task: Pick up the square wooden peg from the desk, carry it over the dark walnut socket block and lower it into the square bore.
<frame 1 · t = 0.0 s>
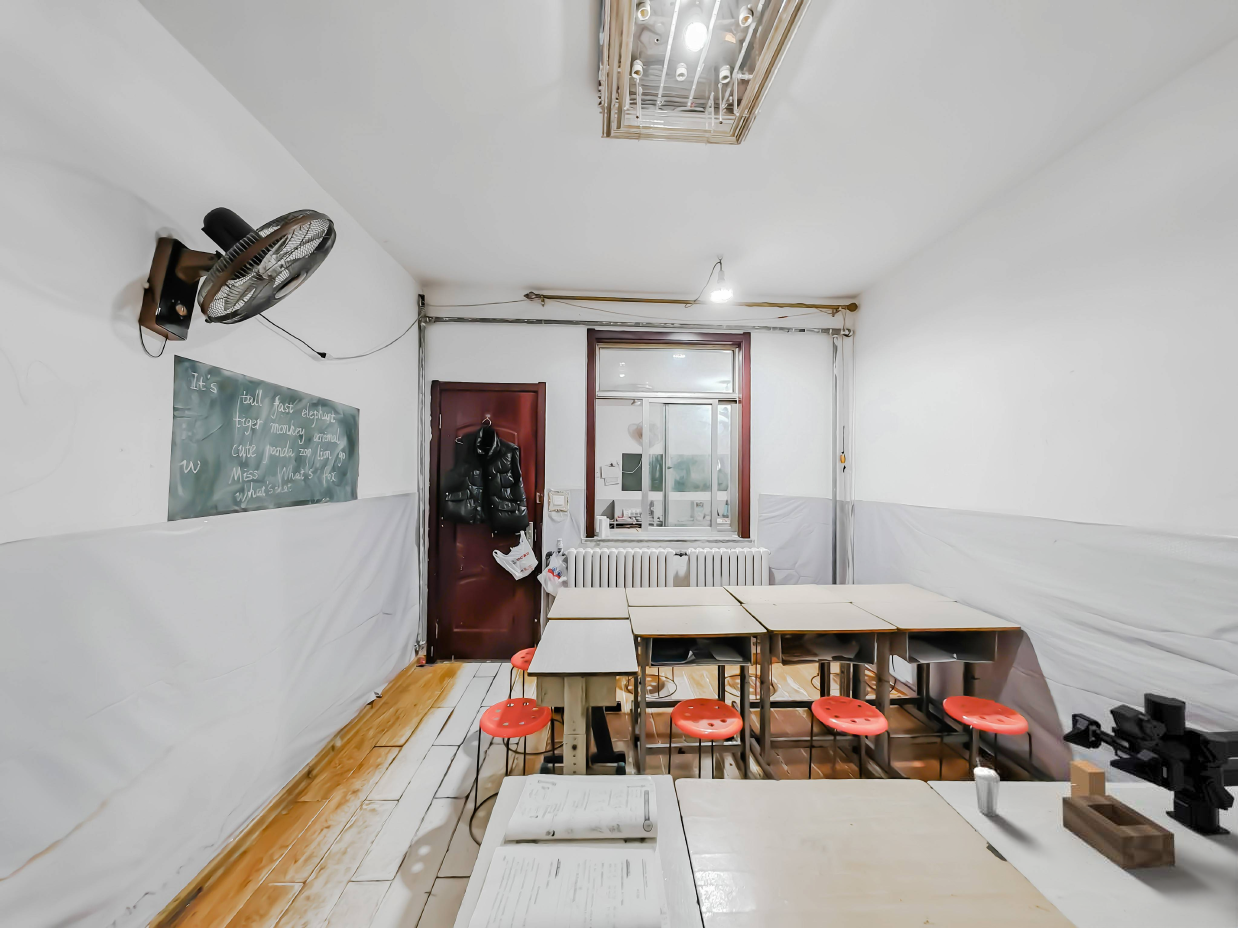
hand: (1086, 750, 98), 17 cm above the table, tool horizontal, fingers open, 9 cm apart
peg: (1088, 801, 106), on the table
milkshake: (986, 811, 103), on the table
socket: (1116, 844, 94), on the table
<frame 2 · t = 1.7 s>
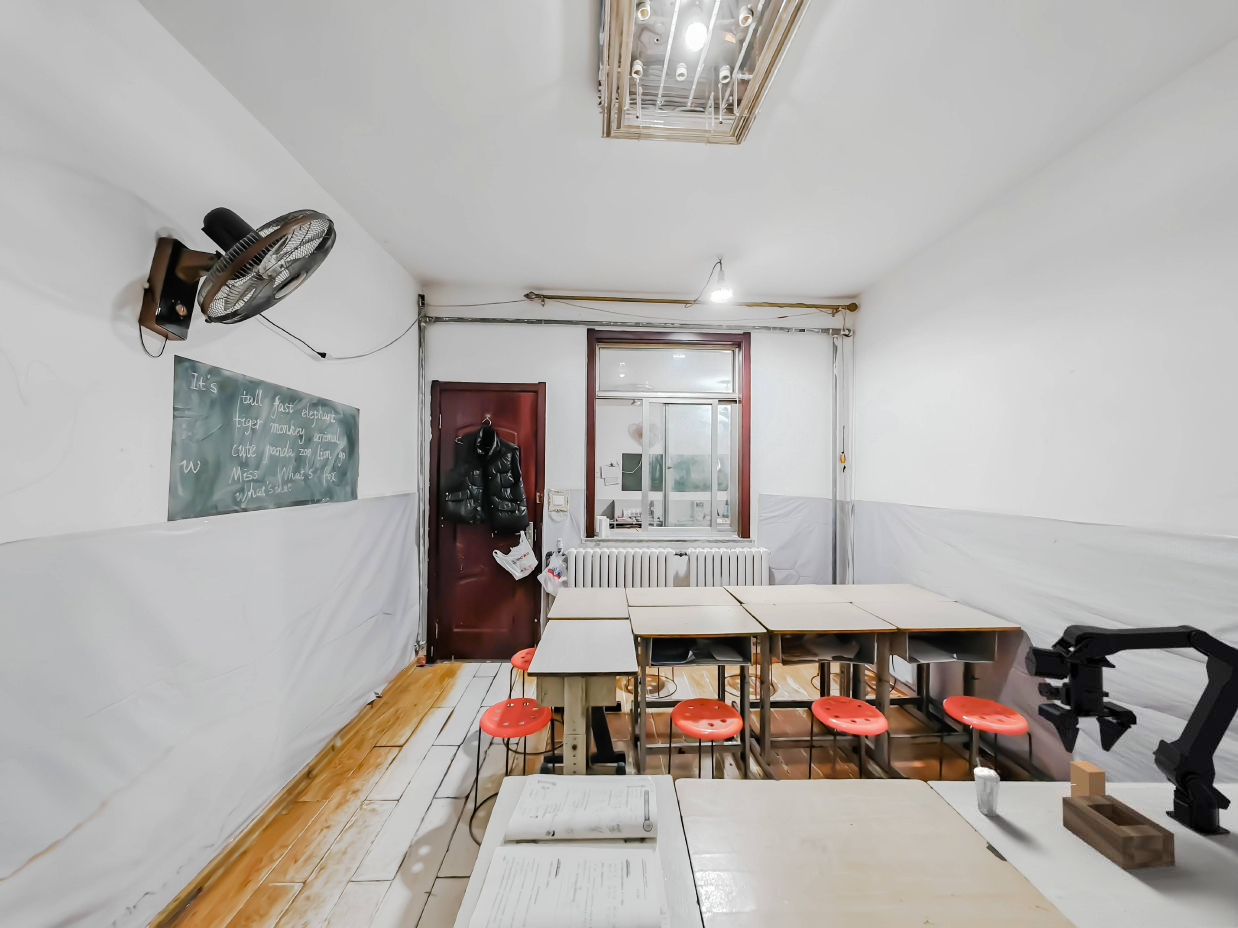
hand: (1087, 751, 107), 11 cm above the table, tool pointing down, fingers open, 9 cm apart
nothing on the table moved.
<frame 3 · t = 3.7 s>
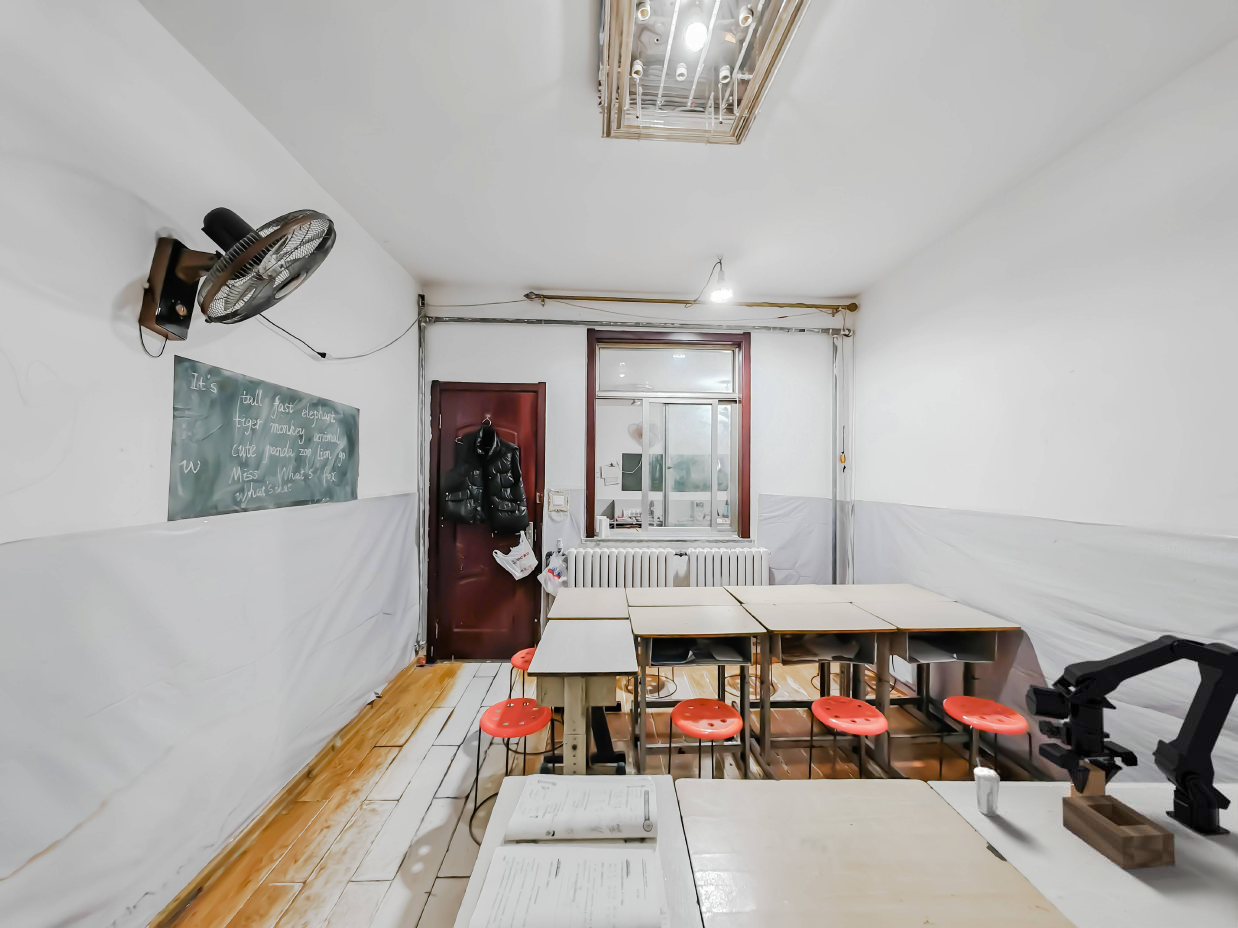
hand: (1088, 791, 106), 2 cm above the table, tool pointing down, fingers closed on peg, 4 cm apart
peg: (1088, 801, 106), on the table, touching gripper
everything else where it was.
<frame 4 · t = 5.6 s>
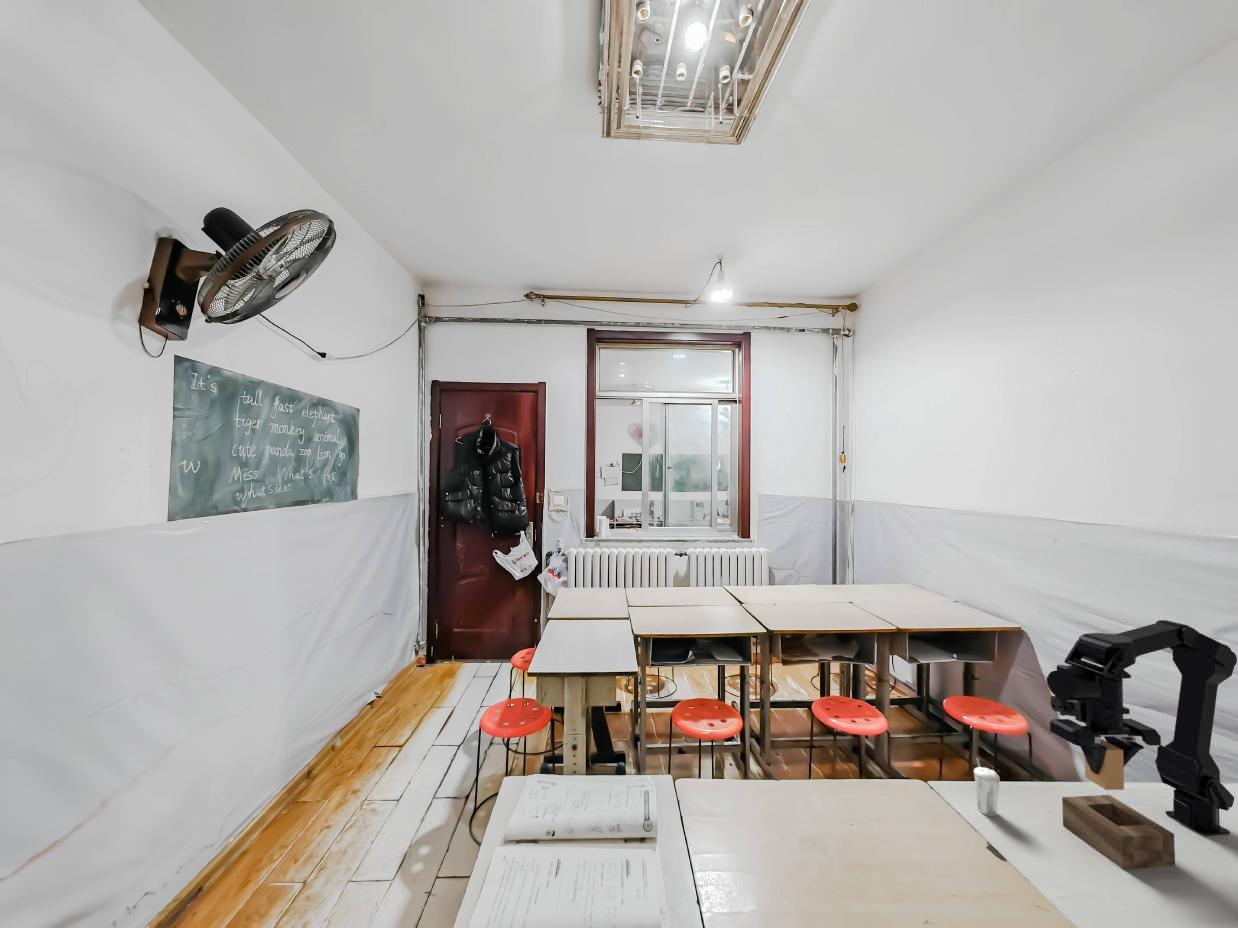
hand: (1104, 772, 97), 12 cm above the table, tool pointing down, fingers closed on peg, 4 cm apart
peg: (1104, 783, 98), point 10 cm above the table, touching gripper
everything else where it was.
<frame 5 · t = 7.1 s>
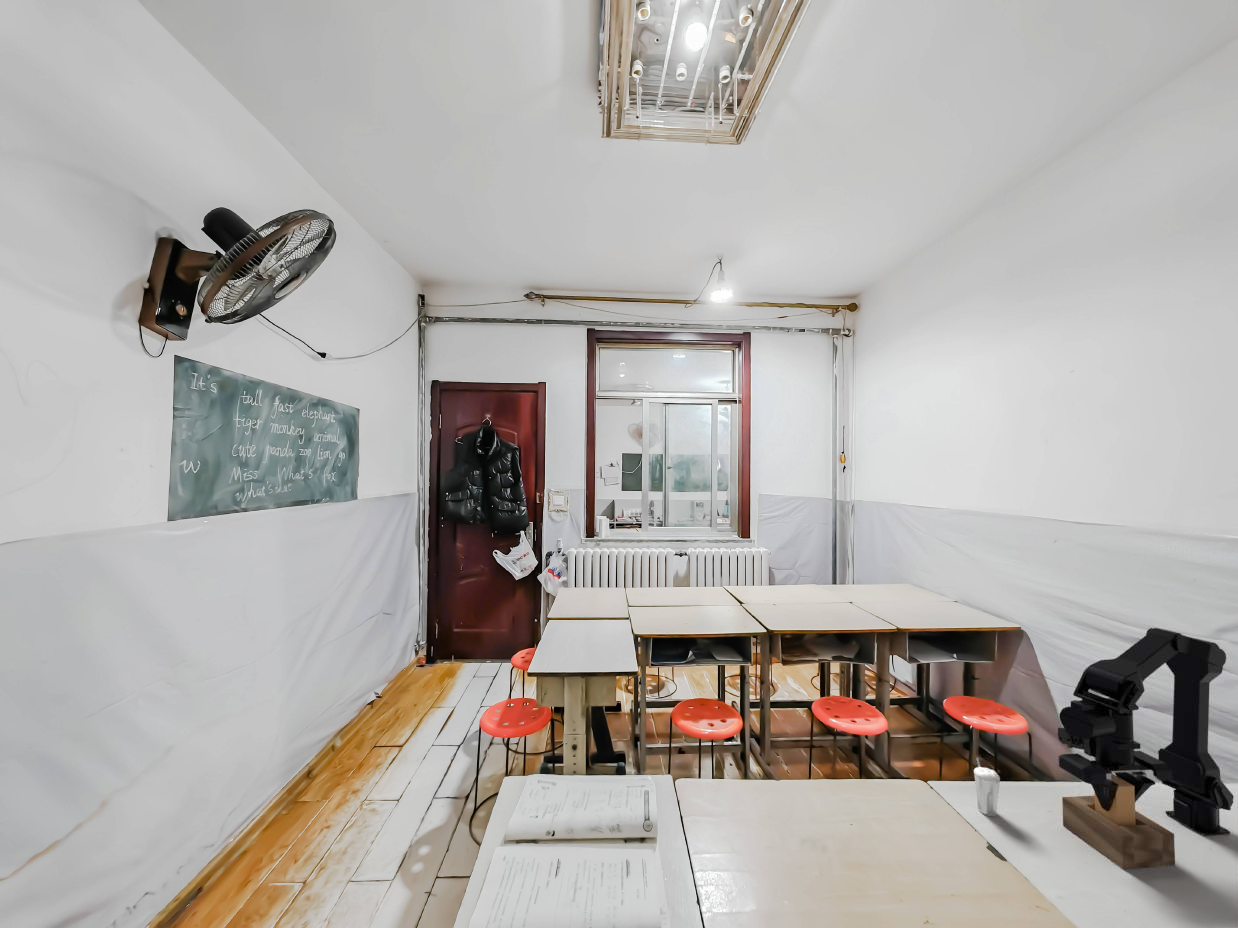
hand: (1115, 808, 94), 7 cm above the table, tool pointing down, fingers closed on peg, 4 cm apart
peg: (1115, 819, 94), point 5 cm above the table, touching gripper
everything else where it was.
when the fingers open (7 cm above the table, at t = 8.0 s): peg drops 4 cm, resting on socket.
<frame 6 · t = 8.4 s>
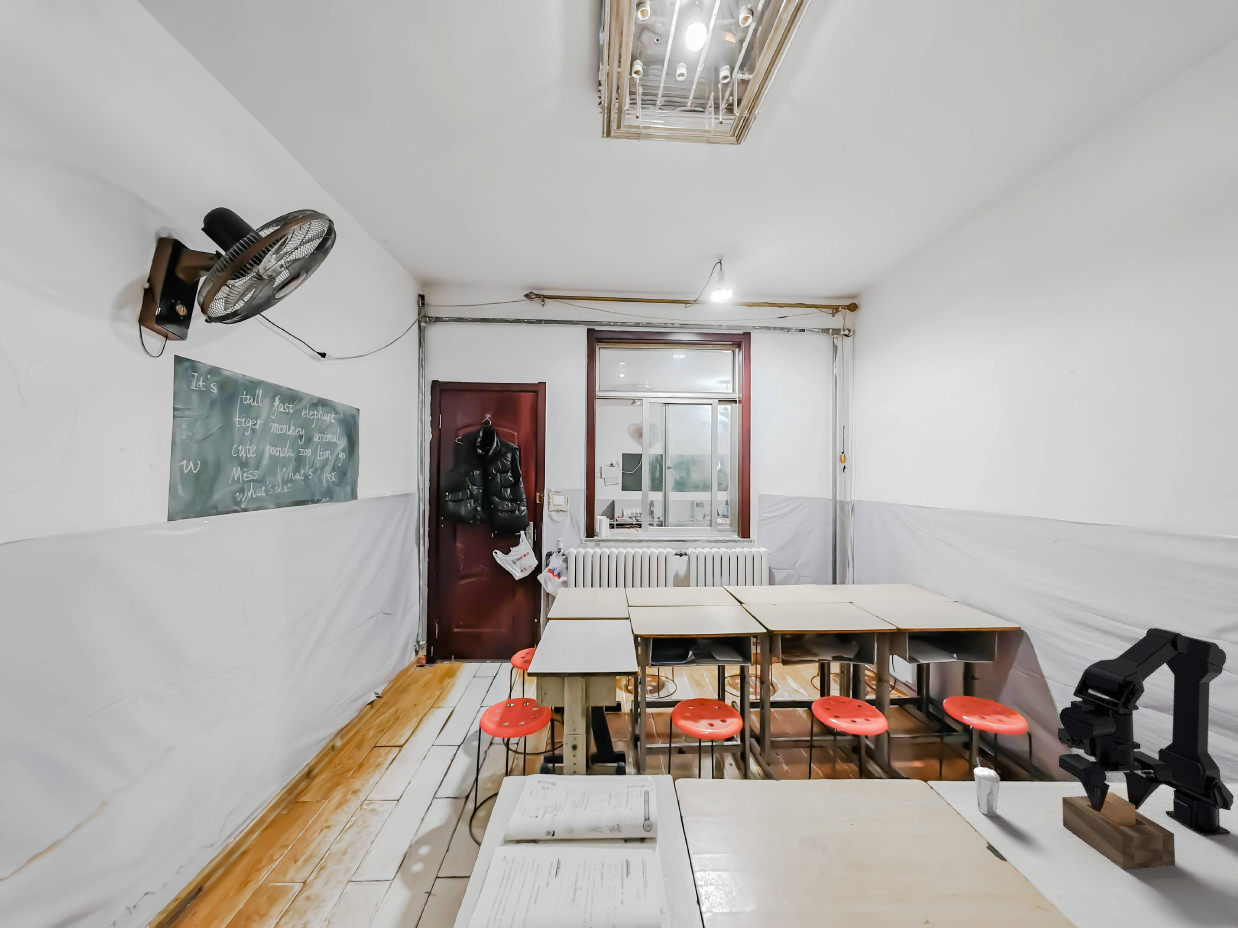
hand: (1115, 809, 94), 7 cm above the table, tool pointing down, fingers open, 8 cm apart
peg: (1115, 839, 94), point 1 cm above the table, touching socket
everything else where it was.
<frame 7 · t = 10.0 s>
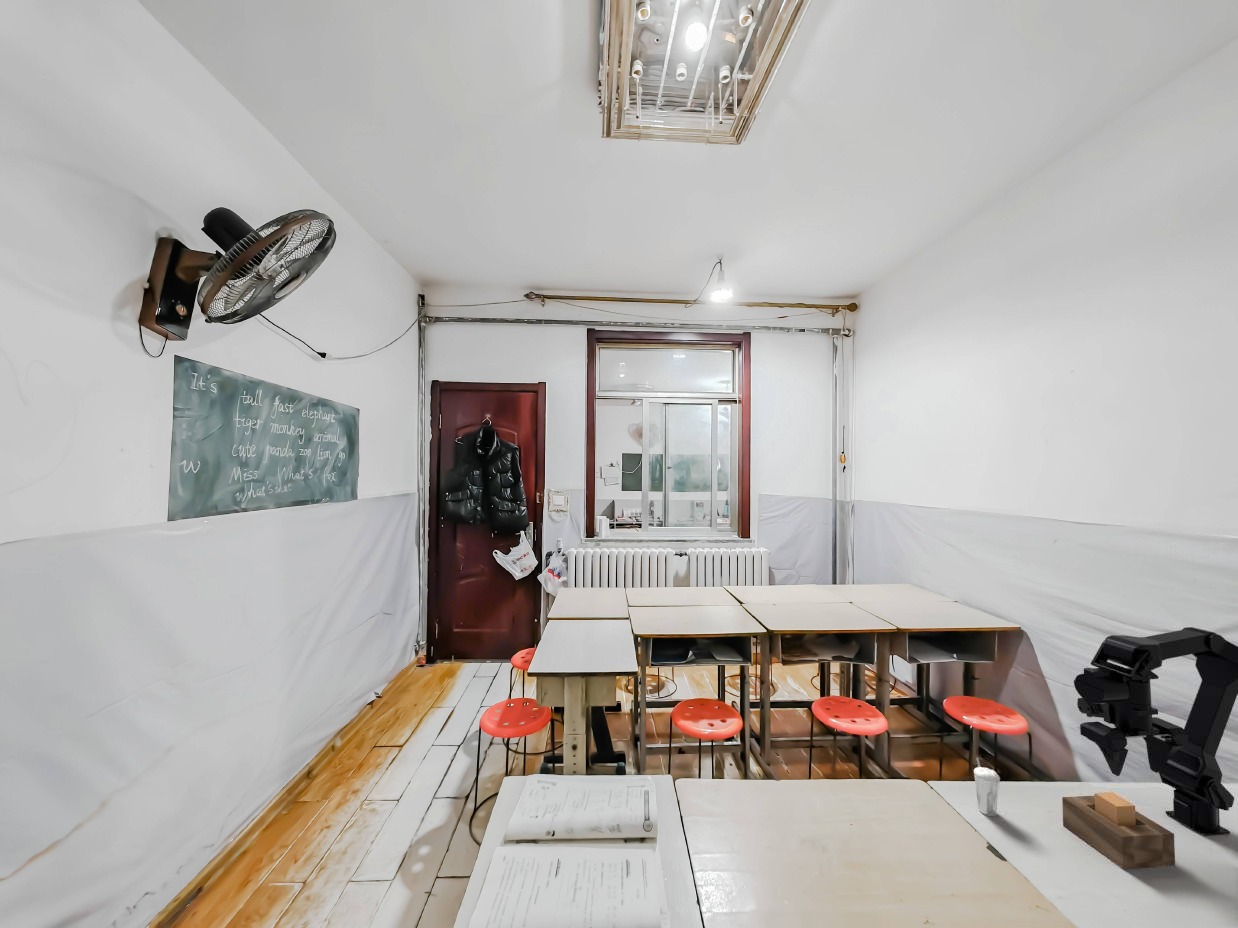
hand: (1135, 772, 98), 12 cm above the table, tool pointing down, fingers open, 9 cm apart
nothing on the table moved.
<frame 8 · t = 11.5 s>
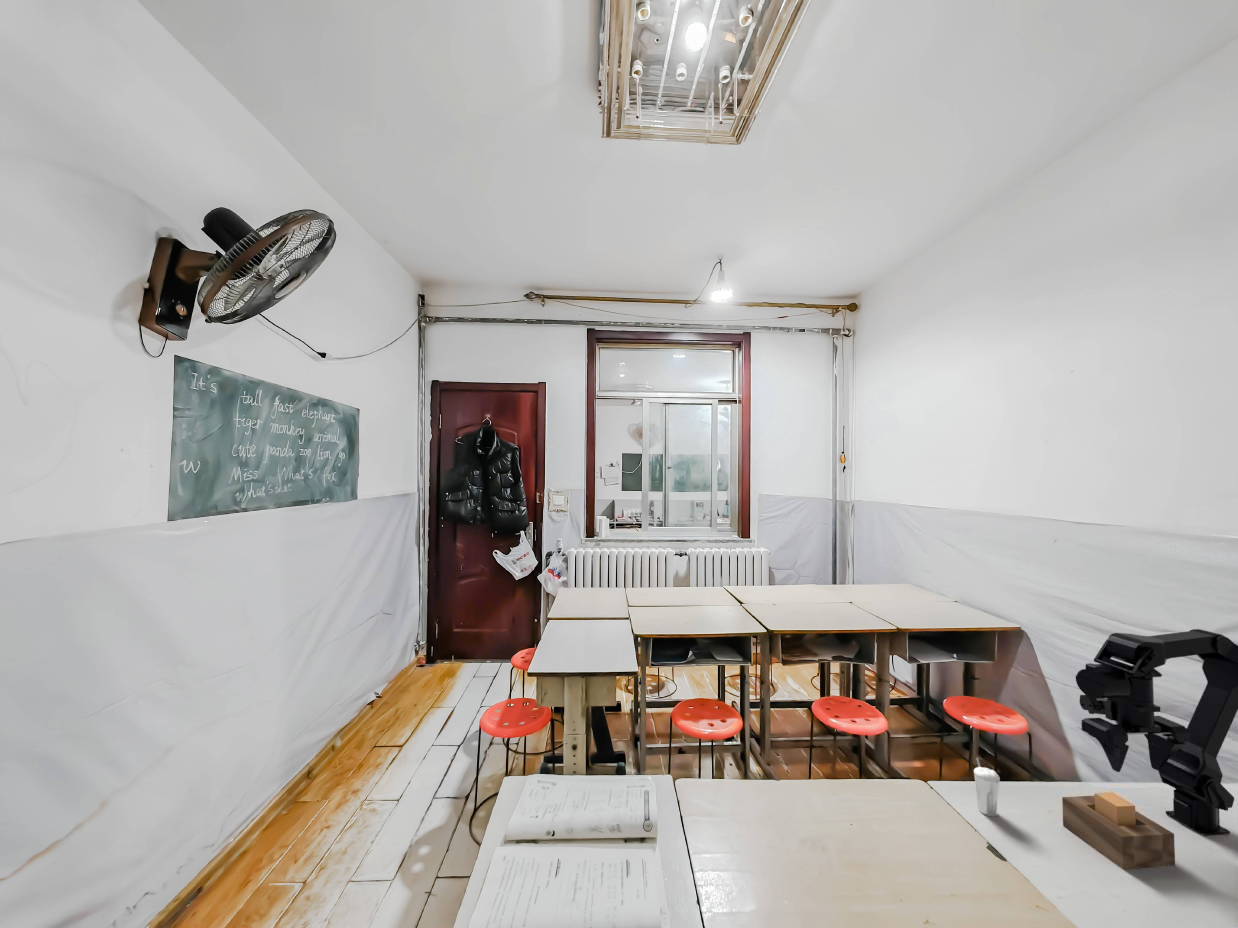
hand: (1135, 769, 99), 12 cm above the table, tool pointing down, fingers open, 9 cm apart
nothing on the table moved.
at the end: peg 0.1 cm off-centre on the socket, point 1.0 cm above the socket's base; peg tilted 0°; the gripper is holding nothing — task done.
